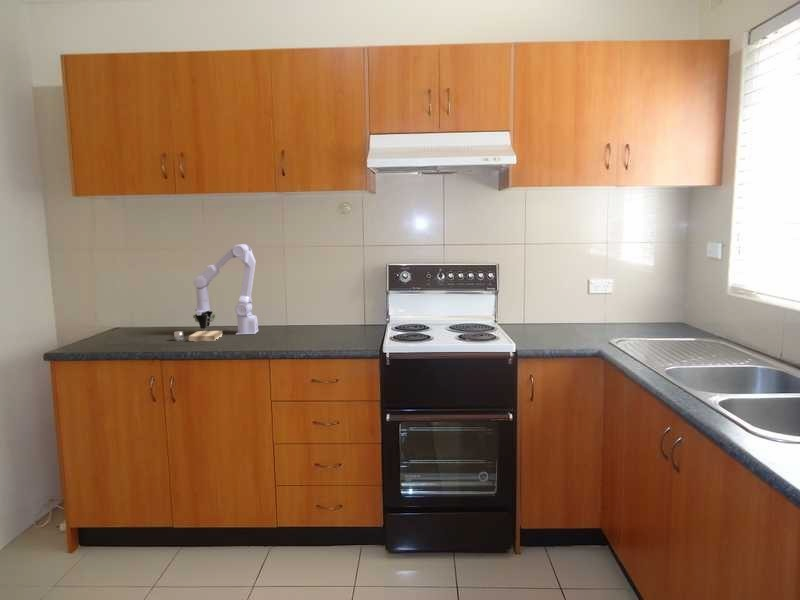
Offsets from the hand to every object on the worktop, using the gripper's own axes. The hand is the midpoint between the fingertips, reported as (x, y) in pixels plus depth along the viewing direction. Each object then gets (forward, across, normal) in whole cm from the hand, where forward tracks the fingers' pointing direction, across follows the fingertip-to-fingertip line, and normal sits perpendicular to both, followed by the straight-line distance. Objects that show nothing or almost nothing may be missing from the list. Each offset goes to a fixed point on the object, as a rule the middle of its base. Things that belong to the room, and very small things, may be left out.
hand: (205, 327), depth 272 cm
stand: (+3, +11, +4) cm, 12 cm away
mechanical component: (+4, 0, 0) cm, 4 cm away
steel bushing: (+3, +13, -8) cm, 16 cm away
